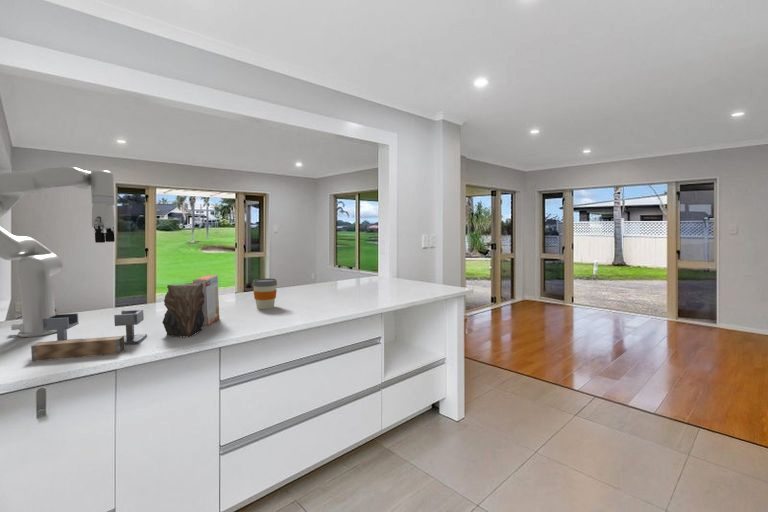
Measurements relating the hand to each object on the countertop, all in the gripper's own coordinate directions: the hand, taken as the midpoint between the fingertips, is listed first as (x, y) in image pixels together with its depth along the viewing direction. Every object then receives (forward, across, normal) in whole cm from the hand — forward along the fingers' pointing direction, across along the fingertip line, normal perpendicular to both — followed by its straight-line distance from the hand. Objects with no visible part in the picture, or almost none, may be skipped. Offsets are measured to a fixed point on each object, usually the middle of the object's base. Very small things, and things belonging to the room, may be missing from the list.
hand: (105, 242), depth 152 cm
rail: (+37, +36, +4) cm, 52 cm away
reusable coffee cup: (+37, -25, +63) cm, 77 cm away
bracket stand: (+37, +23, +4) cm, 44 cm away
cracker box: (+37, +2, +38) cm, 53 cm away
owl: (+37, +18, +32) cm, 52 cm away
